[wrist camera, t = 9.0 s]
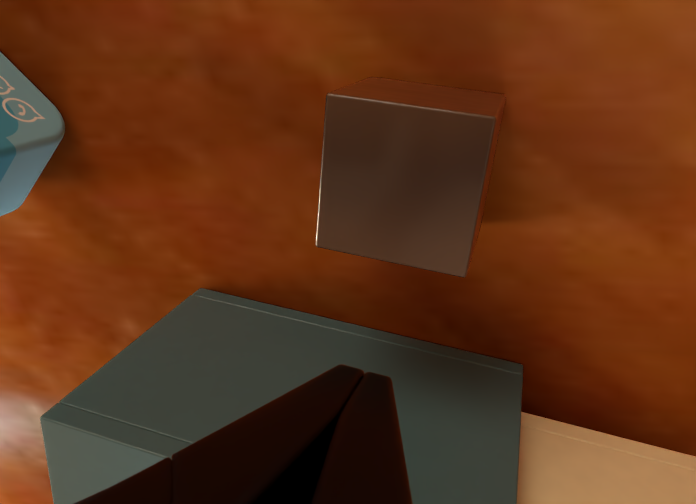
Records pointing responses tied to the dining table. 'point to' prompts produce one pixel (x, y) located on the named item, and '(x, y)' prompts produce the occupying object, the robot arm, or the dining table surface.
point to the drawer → (597, 468)
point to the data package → (24, 135)
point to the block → (407, 172)
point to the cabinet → (272, 382)
